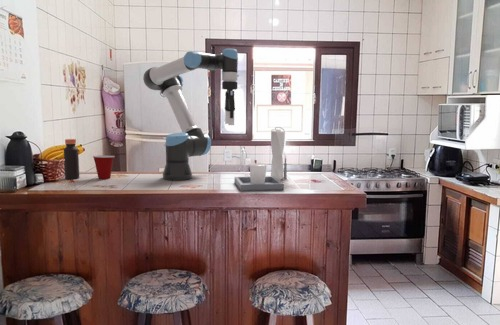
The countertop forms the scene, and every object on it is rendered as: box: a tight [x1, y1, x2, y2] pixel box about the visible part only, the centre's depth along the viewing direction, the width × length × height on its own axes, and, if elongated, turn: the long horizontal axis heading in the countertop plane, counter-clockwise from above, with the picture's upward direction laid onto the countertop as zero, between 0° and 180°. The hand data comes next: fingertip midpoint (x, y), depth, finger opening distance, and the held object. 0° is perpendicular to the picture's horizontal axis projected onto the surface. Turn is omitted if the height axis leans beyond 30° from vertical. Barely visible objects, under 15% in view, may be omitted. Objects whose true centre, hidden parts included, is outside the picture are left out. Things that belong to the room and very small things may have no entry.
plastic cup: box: [92, 154, 116, 180], centre depth 211 cm, size 11×11×12 cm
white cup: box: [249, 162, 267, 184], centre depth 196 cm, size 8×8×10 cm
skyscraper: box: [270, 126, 288, 182], centre depth 215 cm, size 8×8×28 cm
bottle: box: [63, 138, 80, 180], centre depth 209 cm, size 7×7×20 cm
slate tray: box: [234, 175, 285, 192], centre depth 196 cm, size 20×20×3 cm
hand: (229, 124), depth 206 cm, fingers open, 13 cm apart
